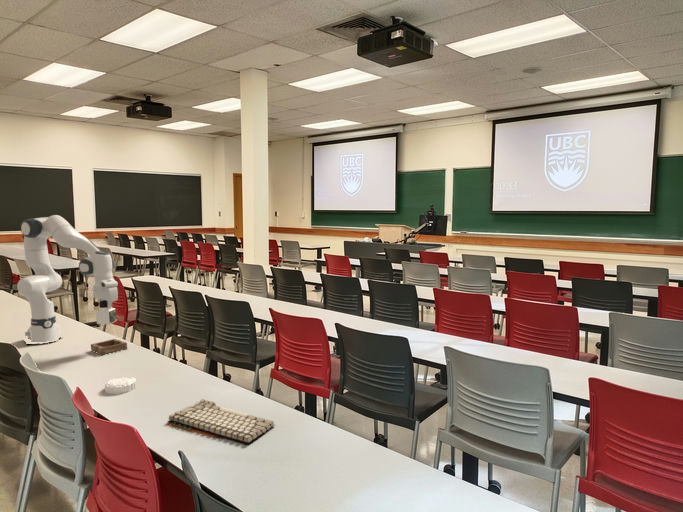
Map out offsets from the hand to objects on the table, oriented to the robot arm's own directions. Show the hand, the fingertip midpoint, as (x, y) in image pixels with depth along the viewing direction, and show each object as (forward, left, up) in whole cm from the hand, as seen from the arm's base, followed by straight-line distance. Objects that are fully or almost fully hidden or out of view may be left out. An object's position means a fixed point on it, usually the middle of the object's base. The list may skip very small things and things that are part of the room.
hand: (105, 307), depth 250 cm
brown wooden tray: (0, 0, -23) cm, 23 cm away
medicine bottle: (0, 0, -8) cm, 8 cm away
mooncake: (+58, -23, -24) cm, 67 cm away
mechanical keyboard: (+119, -17, -24) cm, 122 cm away
